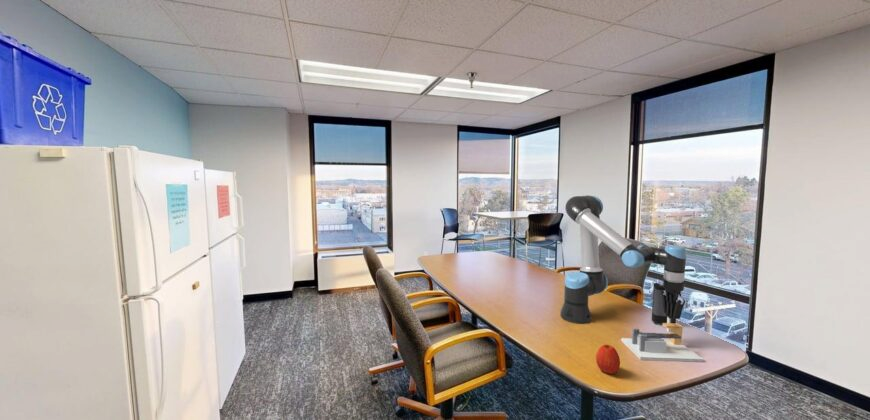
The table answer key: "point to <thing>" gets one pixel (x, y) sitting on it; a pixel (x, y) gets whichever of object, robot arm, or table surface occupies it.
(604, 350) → the apple
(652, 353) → the board
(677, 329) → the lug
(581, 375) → the table surface
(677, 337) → the strap
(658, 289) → the electronic device
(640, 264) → the robot arm
